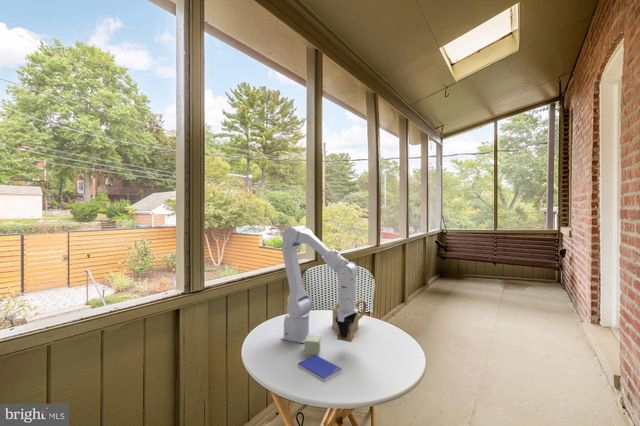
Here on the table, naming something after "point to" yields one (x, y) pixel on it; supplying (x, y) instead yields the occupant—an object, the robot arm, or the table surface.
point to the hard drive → (320, 367)
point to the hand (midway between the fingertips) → (346, 334)
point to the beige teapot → (357, 318)
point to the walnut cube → (350, 333)
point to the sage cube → (312, 345)
